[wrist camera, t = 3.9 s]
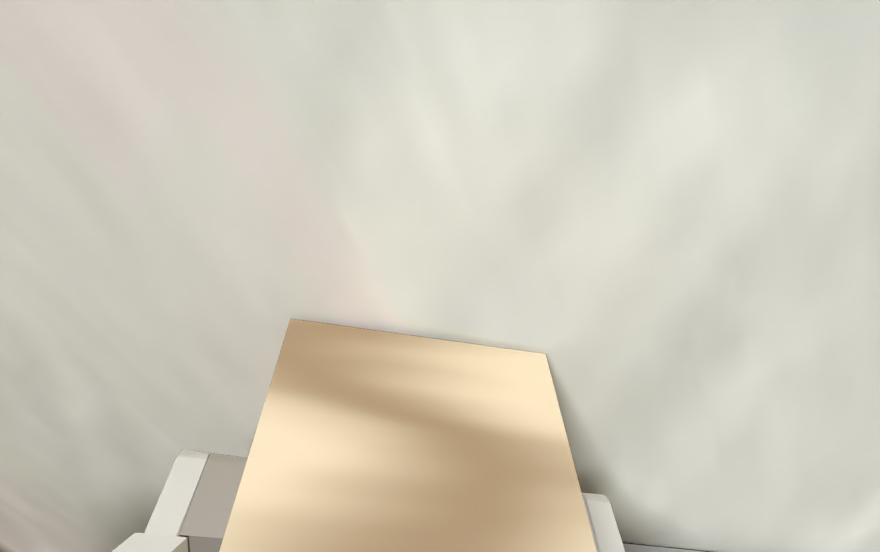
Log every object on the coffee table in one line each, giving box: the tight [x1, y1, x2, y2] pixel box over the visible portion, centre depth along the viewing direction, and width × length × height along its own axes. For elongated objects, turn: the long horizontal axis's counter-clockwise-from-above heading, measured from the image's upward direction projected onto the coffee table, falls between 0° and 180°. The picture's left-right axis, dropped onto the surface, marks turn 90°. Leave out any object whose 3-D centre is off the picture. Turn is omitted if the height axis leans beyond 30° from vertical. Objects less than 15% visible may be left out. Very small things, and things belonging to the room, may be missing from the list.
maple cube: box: [219, 319, 597, 552], centre depth 10 cm, size 5×5×5 cm
